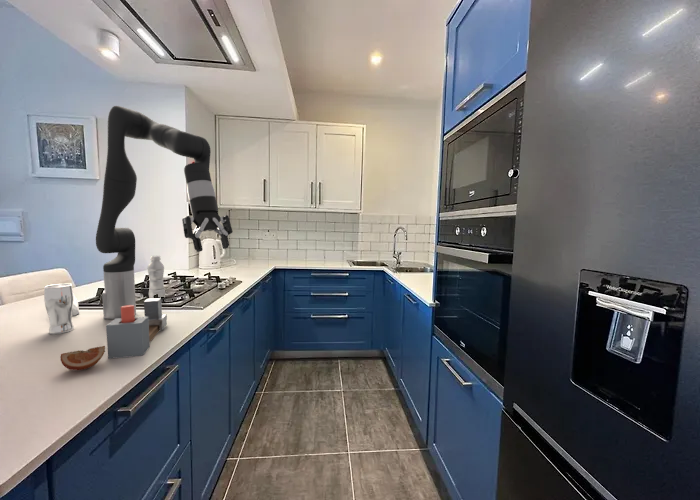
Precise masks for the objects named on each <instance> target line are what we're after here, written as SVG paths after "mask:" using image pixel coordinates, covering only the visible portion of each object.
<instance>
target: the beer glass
mask: <svg viewBox="0 0 700 500" xmlns="http://www.w3.org/2000/svg"><path fill="white" fill-rule="evenodd" d="M43 292H44V294H43V297H44V299H43V302H44V308H45V310H46V313H47V316H48V320H49V326H48V327H49V328H48V334H51V335H59V334H60V335H61V334H65V333H68V332H71V331H74V330H75V327H74V324H73V321H72V317H73V316H72V310H73V303H74V296H75V295H74V296H73V294H74V289H73V284H72V283H57V284H54V283H53V284H50V285H46V286H44V291H43Z"/></svg>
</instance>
